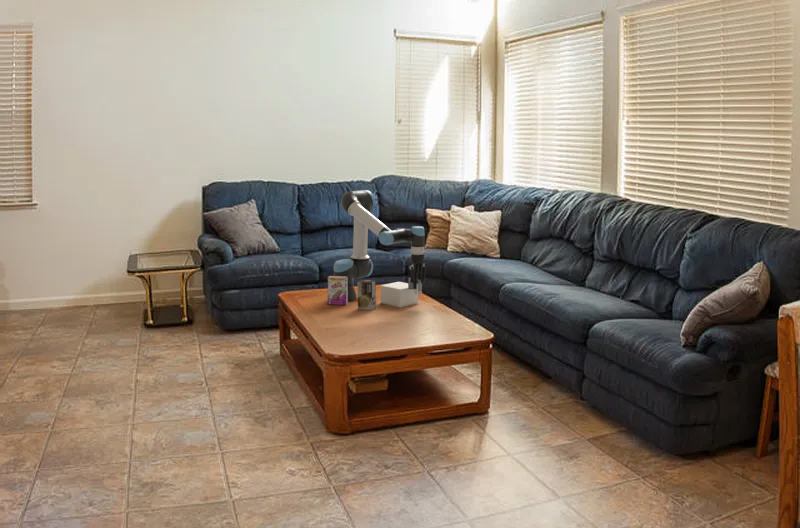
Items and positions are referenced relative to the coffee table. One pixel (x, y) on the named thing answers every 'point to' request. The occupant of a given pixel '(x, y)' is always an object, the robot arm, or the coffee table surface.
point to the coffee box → (366, 294)
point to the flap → (402, 285)
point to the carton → (398, 297)
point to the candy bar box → (337, 290)
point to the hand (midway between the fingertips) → (417, 294)
